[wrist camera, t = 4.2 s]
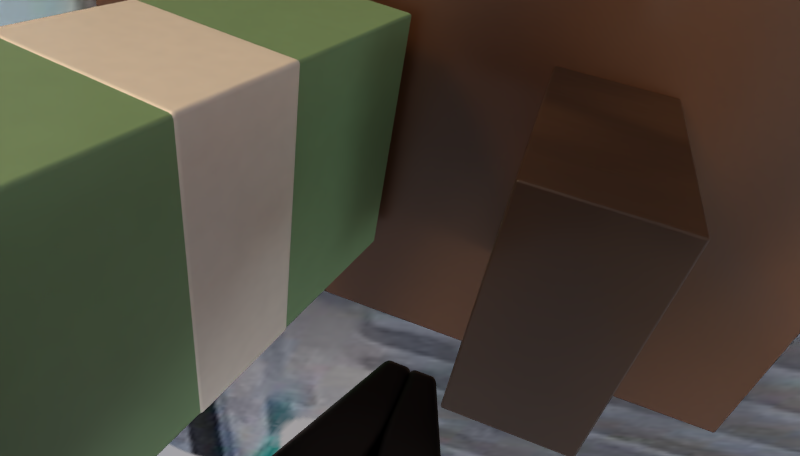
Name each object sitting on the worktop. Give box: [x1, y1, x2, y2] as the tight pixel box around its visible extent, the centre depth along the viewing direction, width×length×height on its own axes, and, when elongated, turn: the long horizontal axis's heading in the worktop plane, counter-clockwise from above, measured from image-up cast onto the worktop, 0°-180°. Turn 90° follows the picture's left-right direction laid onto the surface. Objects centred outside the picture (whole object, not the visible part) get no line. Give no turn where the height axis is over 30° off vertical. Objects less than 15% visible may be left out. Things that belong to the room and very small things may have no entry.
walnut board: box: [96, 0, 800, 456], centre depth 14 cm, size 22×14×7 cm, turn 79°
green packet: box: [0, 0, 411, 456], centre depth 12 cm, size 9×7×12 cm
